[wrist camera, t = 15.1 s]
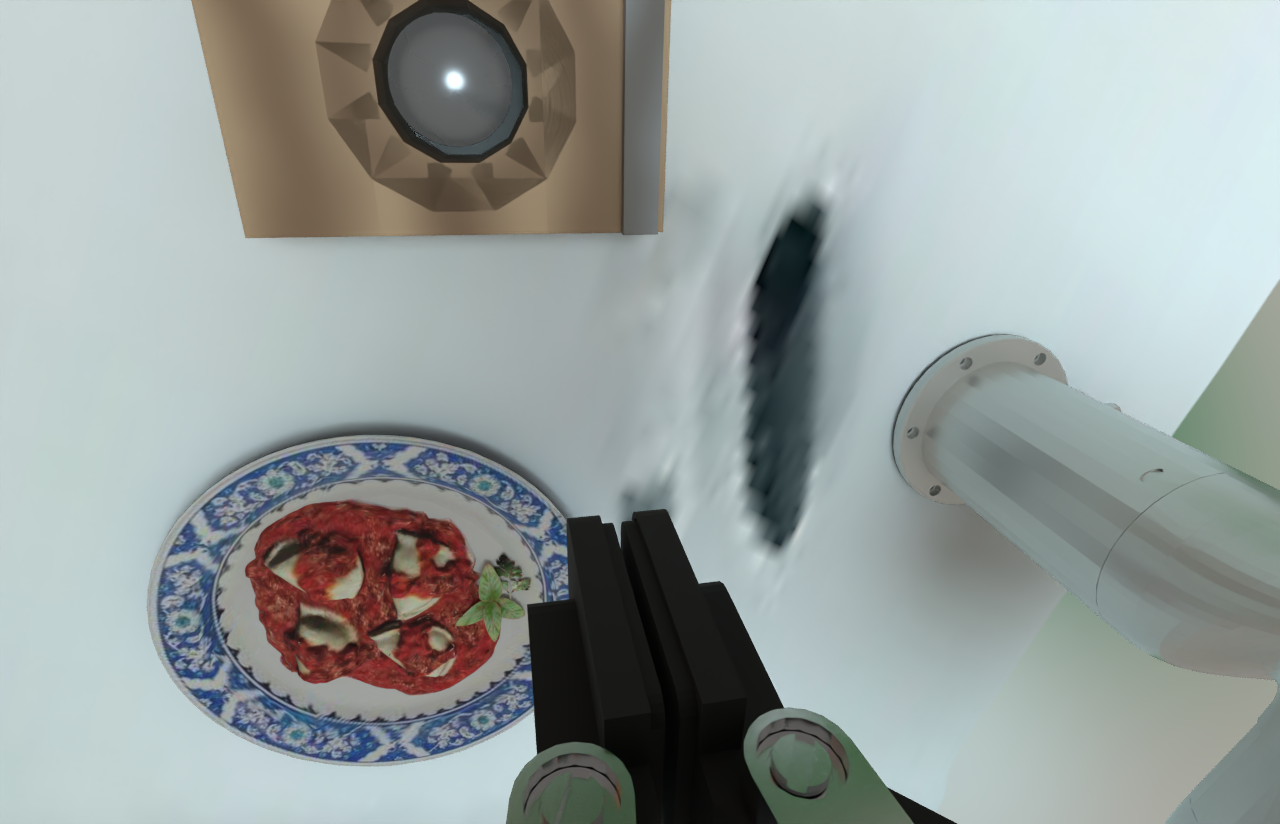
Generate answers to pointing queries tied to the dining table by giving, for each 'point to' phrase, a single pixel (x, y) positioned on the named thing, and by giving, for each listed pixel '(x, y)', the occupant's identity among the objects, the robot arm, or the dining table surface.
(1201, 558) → the robot arm
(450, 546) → the ceramic plate
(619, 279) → the dining table surface
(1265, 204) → the dining table surface
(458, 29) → the grey cylinder
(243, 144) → the block
